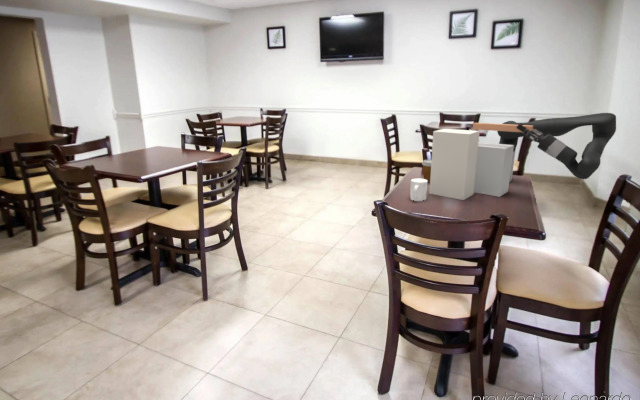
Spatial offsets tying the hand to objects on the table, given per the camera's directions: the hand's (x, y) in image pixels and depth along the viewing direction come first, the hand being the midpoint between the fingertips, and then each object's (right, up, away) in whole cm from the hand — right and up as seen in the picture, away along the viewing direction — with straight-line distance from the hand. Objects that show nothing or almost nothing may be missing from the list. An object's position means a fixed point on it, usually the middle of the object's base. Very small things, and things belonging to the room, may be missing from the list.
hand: (519, 125), depth 181 cm
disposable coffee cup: (-32, -25, +38) cm, 56 cm away
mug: (-46, -35, +8) cm, 59 cm away
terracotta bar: (-6, -1, +6) cm, 8 cm away
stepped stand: (-17, -32, +16) cm, 40 cm away
